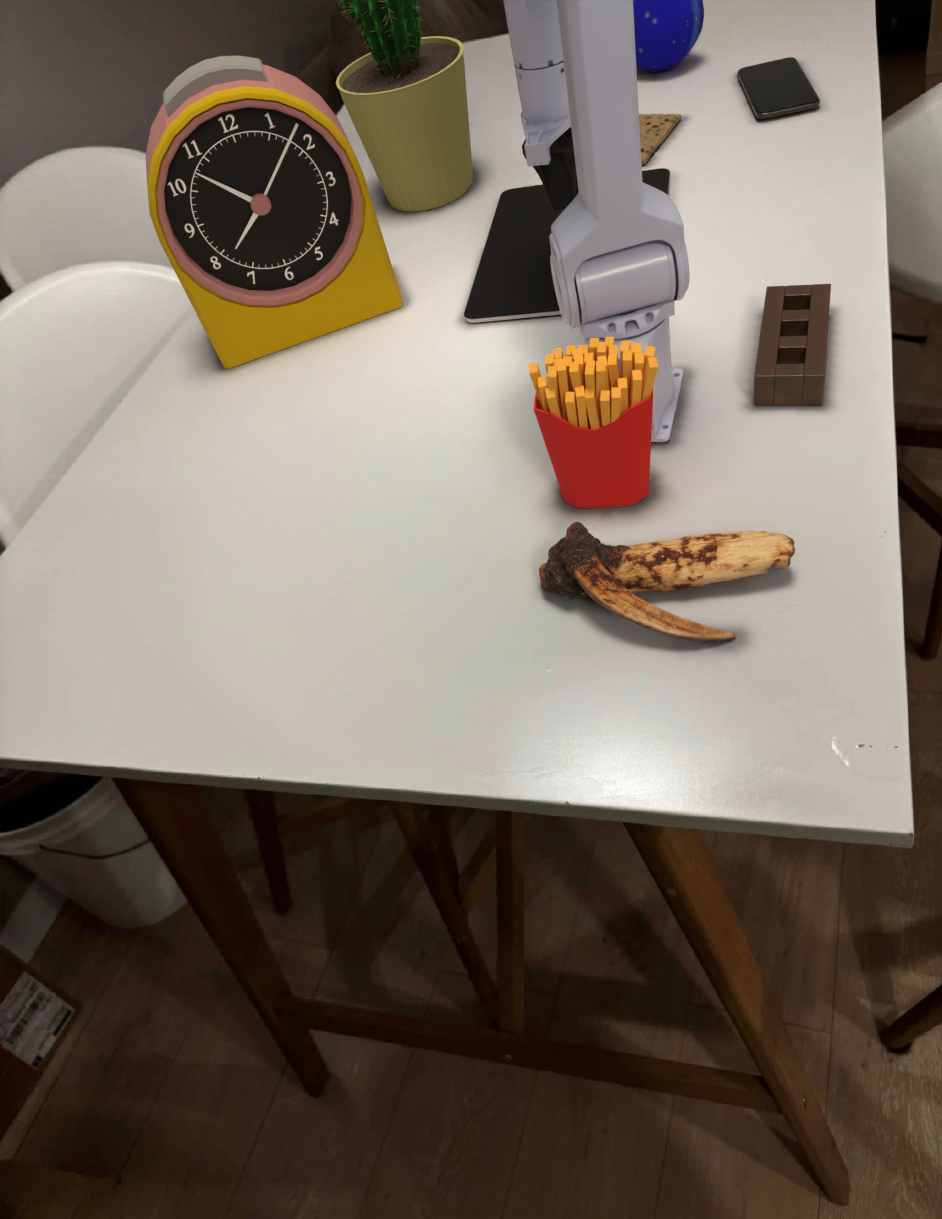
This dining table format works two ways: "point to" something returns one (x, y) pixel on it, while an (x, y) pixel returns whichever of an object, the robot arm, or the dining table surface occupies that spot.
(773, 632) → the dining table surface
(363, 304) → the alarm clock
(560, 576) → the lashed bone hook
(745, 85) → the smartphone
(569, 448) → the french fries
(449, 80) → the potted cactus
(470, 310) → the tablet
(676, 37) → the ornament
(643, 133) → the cookie
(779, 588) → the dining table surface
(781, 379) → the stand
